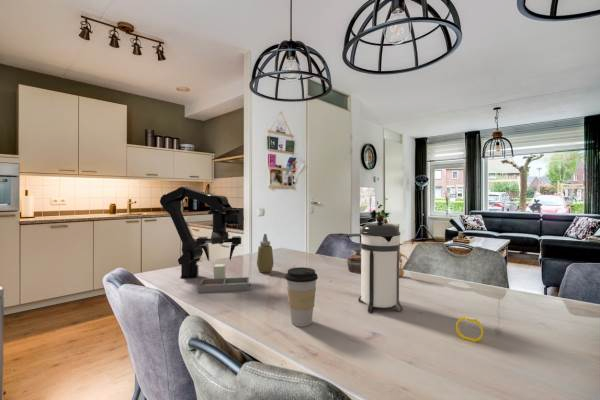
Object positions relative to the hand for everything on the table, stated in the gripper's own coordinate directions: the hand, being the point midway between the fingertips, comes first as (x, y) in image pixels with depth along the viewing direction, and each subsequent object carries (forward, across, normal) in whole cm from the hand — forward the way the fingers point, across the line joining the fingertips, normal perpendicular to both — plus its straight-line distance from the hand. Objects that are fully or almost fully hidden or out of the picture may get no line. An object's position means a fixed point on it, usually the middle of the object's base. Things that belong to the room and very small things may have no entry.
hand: (219, 260), depth 131 cm
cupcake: (+8, +64, +5) cm, 65 cm away
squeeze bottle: (+8, +20, +10) cm, 24 cm away
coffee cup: (+8, +29, -49) cm, 58 cm away
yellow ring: (+8, +70, -65) cm, 96 cm away
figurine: (+8, +79, -8) cm, 80 cm away
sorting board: (+8, +4, -13) cm, 16 cm away
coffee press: (+8, +56, -39) cm, 69 cm away
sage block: (+8, 0, 0) cm, 8 cm away
